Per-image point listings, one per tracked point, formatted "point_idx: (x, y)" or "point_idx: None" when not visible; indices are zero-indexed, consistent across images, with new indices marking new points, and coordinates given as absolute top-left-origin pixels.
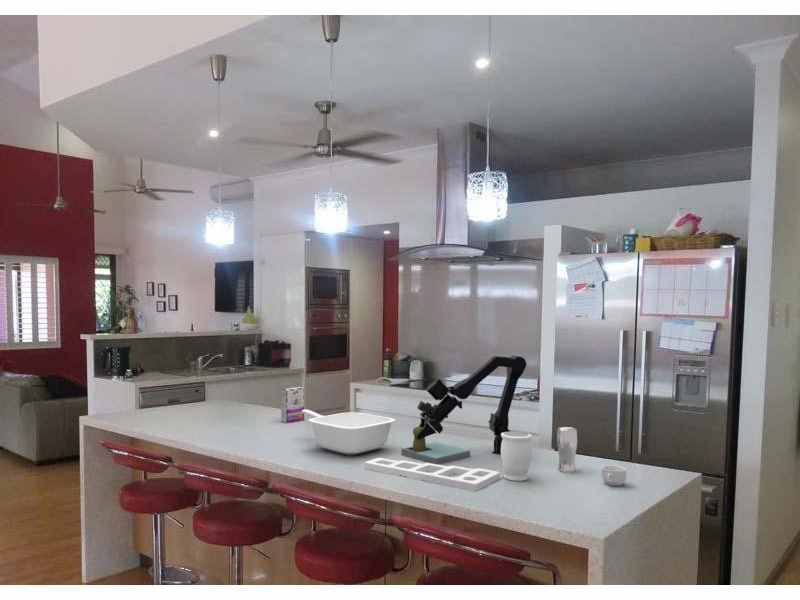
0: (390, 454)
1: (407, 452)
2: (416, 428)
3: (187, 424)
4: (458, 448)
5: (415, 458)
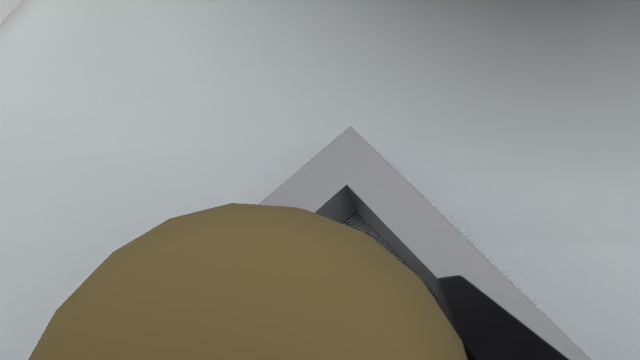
0: (386, 45)
1: None
2: (96, 296)
3: None
4: None
5: None
